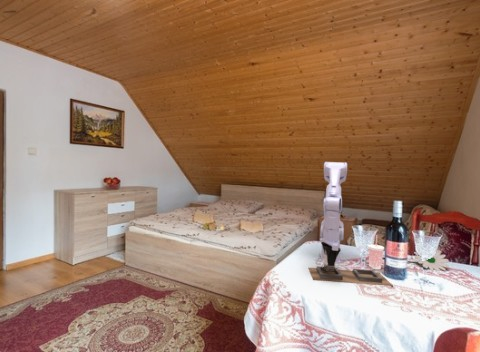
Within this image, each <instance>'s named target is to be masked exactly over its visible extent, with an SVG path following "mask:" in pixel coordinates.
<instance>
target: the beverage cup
mask: <svg viewBox="0 0 480 352" xmlns="http://www.w3.org/2000/svg"><path fill="white" fill-rule="evenodd" d="M375 236H376V237H375V244H371V245H370V244H368V245H367V246H368V266H369V267H370V268H371V269H372V270H382V269H381V268H382V265H383V264H382V262H383V259H382V258H384V256H383V254H384V250H385V247H384V246H383V245H379V244H378V234H376V235H375Z"/></svg>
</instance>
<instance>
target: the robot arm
mask: <svg viewBox="0 0 480 352" xmlns="http://www.w3.org/2000/svg"><path fill="white" fill-rule="evenodd" d="M347 175H348V163H347V162H337V161H336V162H335V161H334V162H333V161H325V162H324V163H323V178H324V181H326V182H328V184H327V186H326V190H325V197H324V198H323V205H322V207H323V220H322V221H321V223H320V224H321V225H320V231H319V232H320V234H319V237H320V238H319V241H320V243H321V253H319V257H320V258H321V260H322V261H323V262H324V255H325V250H326V254H327V262H328V266H334V264H335V265H336V263H343V261H342V260H341V258H340V252H341V248H340V247H341V241H344V231H345V228H344V226H345V225H344V222H343V221H341V213H342V211H343V198H342V186H341V184H342V183H344V182H346V180H347Z"/></svg>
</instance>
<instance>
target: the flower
mask: <svg viewBox="0 0 480 352" xmlns="http://www.w3.org/2000/svg"><path fill="white" fill-rule="evenodd" d="M436 250H437V252H436V255H435V256H434V257H433V258H431V259H428V260H425V261H422V259H421V257H420V256H418V254H417V251H413V254H415V255H414V259H416V260H418V261H409V260H407V261H408V262H407V263H411V264H422V267H423V268H424V269H428V268H429V270H430V271H432V272H434V271H436V272H440V271H441V272H442V270H443V271H446V268H449V267H450V265H449V264H448V263H449V262H450V261H449V259H448V258H446V254H441V253H442V251H441V250H440V249H436ZM384 258H385V257H382V260H385V259H384Z"/></svg>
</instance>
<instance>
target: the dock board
mask: <svg viewBox="0 0 480 352" xmlns="http://www.w3.org/2000/svg"><path fill="white" fill-rule="evenodd" d="M308 271H309V273H310V276H311V278H312V280H313V281H321V282H332V283H347V284H348V283H349V284H357V285H358V284H361V285H371V286H373V285H375V286H385V287H388V286H390V287H391V288H394V285H393V284H392V283H391V282H390V281H389V280H387V278H386V277H384V275H382V274H381V272H378V271H375V269H362V268H360V269H359V268H352V270H350V269H349V270H347V269H338V267H335V271H332V272H330V271H326V270H324V266H316V267H308Z"/></svg>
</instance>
